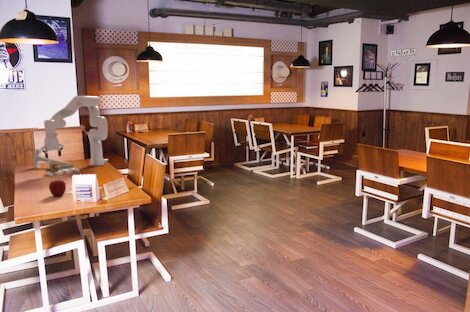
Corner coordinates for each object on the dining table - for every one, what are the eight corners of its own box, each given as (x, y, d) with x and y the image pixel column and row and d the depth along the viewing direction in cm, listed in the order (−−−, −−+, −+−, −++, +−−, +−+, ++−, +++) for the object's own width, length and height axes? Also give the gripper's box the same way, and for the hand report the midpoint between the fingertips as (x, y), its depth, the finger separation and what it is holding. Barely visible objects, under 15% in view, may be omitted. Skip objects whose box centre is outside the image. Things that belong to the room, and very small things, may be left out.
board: (73, 169, 322) (72, 167, 321) (79, 171, 314) (79, 169, 313) (45, 173, 306) (45, 171, 306) (51, 176, 298) (51, 173, 298)
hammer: (71, 156, 331) (37, 148, 331) (68, 157, 326) (34, 149, 327) (68, 173, 334) (34, 165, 334) (65, 174, 329) (31, 166, 329)
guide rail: (73, 167, 321) (72, 164, 321) (73, 167, 320) (73, 165, 320) (45, 171, 306) (45, 169, 305) (46, 171, 305) (45, 169, 305)
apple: (64, 192, 249) (62, 177, 248) (68, 195, 242) (67, 180, 240) (48, 195, 243) (46, 180, 242) (52, 198, 236) (51, 182, 234)
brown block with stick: (55, 170, 309) (54, 163, 308) (60, 172, 302) (60, 164, 301) (50, 171, 307) (49, 163, 306) (55, 173, 299) (54, 165, 298)
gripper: (60, 134, 310) (62, 155, 313) (37, 136, 298) (40, 158, 301) (64, 134, 305) (66, 156, 308) (41, 137, 293) (43, 159, 296)
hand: (53, 157), depth 305 cm, fingers open, 9 cm apart
